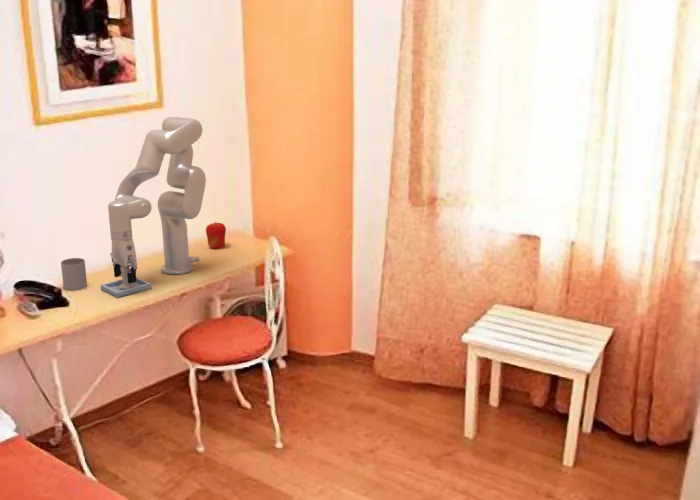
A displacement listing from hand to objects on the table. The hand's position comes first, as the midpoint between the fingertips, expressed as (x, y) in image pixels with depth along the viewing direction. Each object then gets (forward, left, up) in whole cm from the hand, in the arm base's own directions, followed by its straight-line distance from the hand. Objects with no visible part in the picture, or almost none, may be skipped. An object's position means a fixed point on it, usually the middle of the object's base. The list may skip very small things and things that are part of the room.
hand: (125, 279), depth 299 cm
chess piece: (0, 0, -3) cm, 4 cm away
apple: (-55, -20, -4) cm, 59 cm away
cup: (+12, -16, -4) cm, 20 cm away
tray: (0, 0, -4) cm, 4 cm away
